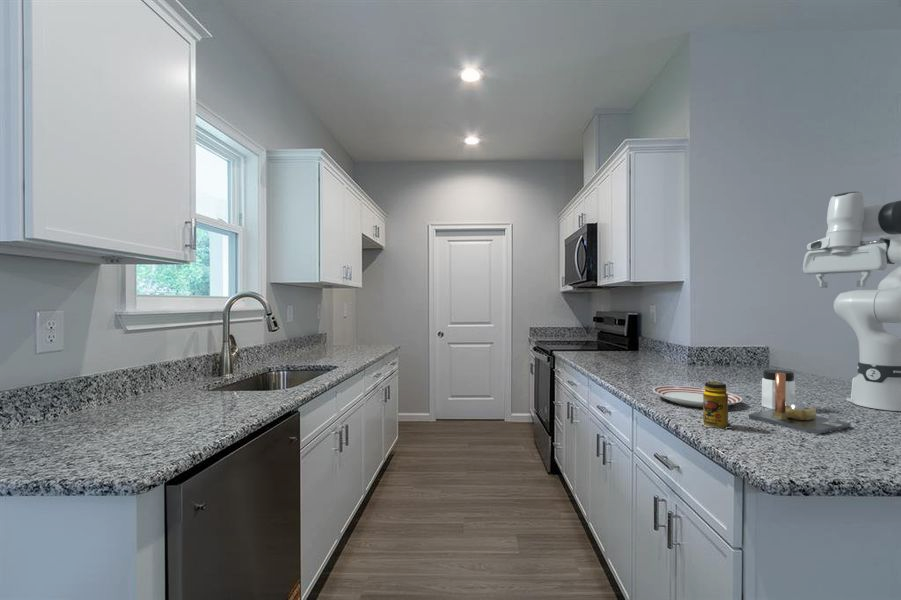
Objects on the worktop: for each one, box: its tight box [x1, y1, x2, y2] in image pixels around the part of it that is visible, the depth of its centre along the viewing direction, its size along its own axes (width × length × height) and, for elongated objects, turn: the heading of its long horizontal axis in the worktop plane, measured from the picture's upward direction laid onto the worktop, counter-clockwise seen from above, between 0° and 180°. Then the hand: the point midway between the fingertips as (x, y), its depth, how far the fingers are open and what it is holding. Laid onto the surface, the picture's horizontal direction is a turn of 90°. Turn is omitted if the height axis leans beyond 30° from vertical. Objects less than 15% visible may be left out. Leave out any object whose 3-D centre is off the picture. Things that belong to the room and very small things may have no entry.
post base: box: [748, 402, 852, 435], centre depth 130 cm, size 17×18×5 cm
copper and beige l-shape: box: [774, 373, 817, 420], centre depth 130 cm, size 14×7×13 cm, turn 116°
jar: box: [761, 369, 796, 410], centre depth 148 cm, size 9×8×12 cm
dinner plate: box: [652, 385, 743, 408], centre depth 157 cm, size 27×27×3 cm
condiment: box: [700, 381, 733, 430], centre depth 128 cm, size 7×8×12 cm
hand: (841, 287), depth 140 cm, fingers open, 8 cm apart
